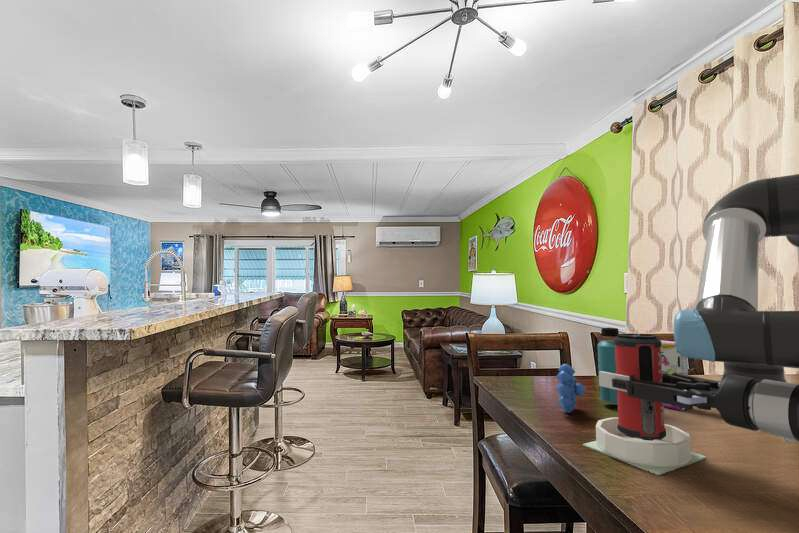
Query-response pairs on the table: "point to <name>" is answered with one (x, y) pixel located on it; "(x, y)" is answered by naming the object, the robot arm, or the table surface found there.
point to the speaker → (645, 364)
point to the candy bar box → (672, 364)
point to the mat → (651, 469)
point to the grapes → (568, 388)
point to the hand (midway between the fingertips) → (613, 376)
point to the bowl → (644, 446)
